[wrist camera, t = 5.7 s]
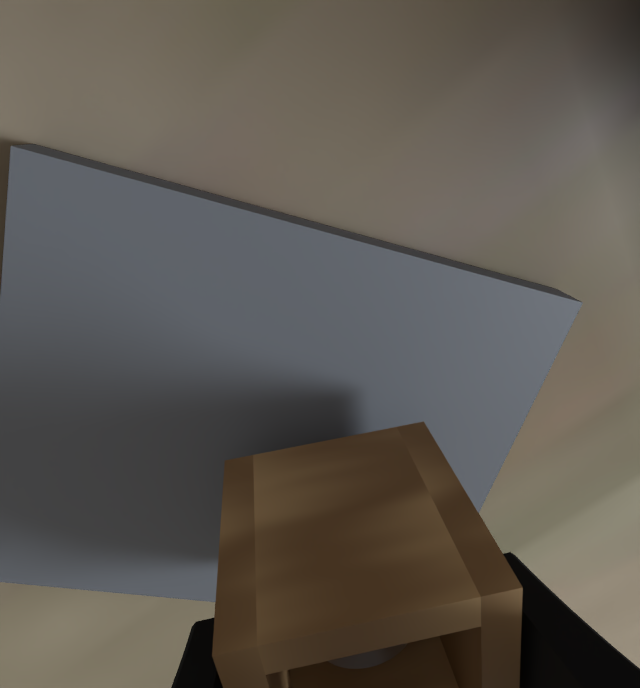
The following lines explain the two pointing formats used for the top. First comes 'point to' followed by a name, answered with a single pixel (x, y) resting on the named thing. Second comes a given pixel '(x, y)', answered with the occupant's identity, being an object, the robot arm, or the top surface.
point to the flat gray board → (222, 364)
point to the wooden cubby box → (360, 570)
